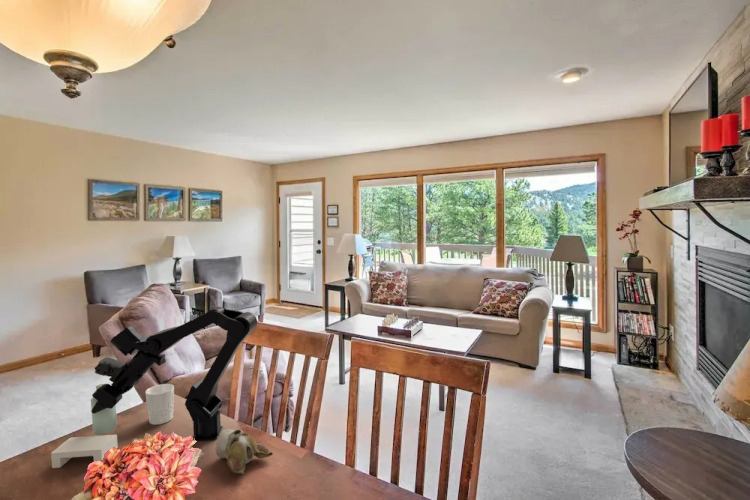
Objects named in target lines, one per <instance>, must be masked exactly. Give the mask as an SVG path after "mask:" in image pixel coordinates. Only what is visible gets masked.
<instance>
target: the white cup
mask: <svg viewBox="0 0 750 500" xmlns="http://www.w3.org/2000/svg"><path fill="white" fill-rule="evenodd" d="M144 394H145V402H146V409H147V415H148V422H149V424H150V425H155V426H156V425H163V424H165V423H168V422H169V421H171V420H172V419H173V418H174V408H175V386H174V385H173V384H172V383H162V384H158V385H153V386H151V387H149V388H147V389H146V390H145V393H144Z"/></svg>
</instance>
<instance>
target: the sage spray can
mask: <svg viewBox="0 0 750 500" xmlns="http://www.w3.org/2000/svg"><path fill="white" fill-rule="evenodd" d="M103 384H108V383H106V382H105V383H104V382H103V383H99V384H98V385H96V386H95V391H96V390H97V389H99V388H100V387H101V386H102V385H103ZM96 402H97V400H96V399H95V398H94V397H93V396H92V398H91V399H90V410H91V411H92V409H93V407H94V405H95V404H96ZM116 405H117V404H116ZM116 405H115V406H114V407H113V408H112V409H110V408H106V409H104V410H101V411H99V412H97V413H95V414H93V413H92V412H91V421H92V422H91V423H92V433H93V434H94V435H96V436H100V435H106V434H108V433H111V432H113V431H114V430H116V429H117V428H118V422H117V420H118V419H117V409H116V408H117V406H116Z"/></svg>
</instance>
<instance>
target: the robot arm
mask: <svg viewBox="0 0 750 500" xmlns="http://www.w3.org/2000/svg"><path fill="white" fill-rule="evenodd" d="M212 324H214V325H216V326H218V328H221V329H223V330H224V331H227V332H226V338H225V342H224V344H223V345H222V347H221V349H220V351H219V352H218V354H217V356H216V357H215V359H214V361H213V363H212V365H211V366H210V368H209V370H208V371H207V373H206V375H205V376H204V378H203V377H201V378H200V379H198V380H197V381H196V382H195V383H194V384H193V385H192V386H191V387H190V390H189V393H188V394H187V395H186V396H185V397H184V400H185V402H184V406H185V409H186V411H188V414H189V415H190V418H191V421H192V428H193V436H194V437H193V439H194V438H195V440H197V441H211V440H212V441H213V440H218V438H219V434H220V431H221V428H222V427H224V426H223V425H221V410H220V409H221V408H222V407H223V403H224V400H223V399H222V398H221V397H220V396H218V395H217V391H218V388H219V383H220V380H221V379H222V377H223V375H224V374H225V372H226V371H227V368H228V366H229V365H230V363H231V361H232V360H233V358H234V356H235V355H236V353H237V351H238V350H239V349H240V348H239V347H240V346H241V344H242V343H243V342H244V341H245V340H246V339H247V337H248V336H249V335H250V334H251V333H253V331H254V330H255V329H256V328H257V325H258V319H257V317H256V315H255V314H253V313H252V312H250V311H249V312H248V311H247V312H242V311H240V310H235V309H227V308H225V307H222V306H216V307H213V308H211V309H209V310H208V311H207V312H206V313H203V314H201V315H199V316H197V317H195V318H193V319H192V320H191V319H190V320H189V321H186V322H185V323H182V324H181V325H179V326H173V327H169V328H166V329H163V330H160V331H159V332H155V333H154V334H151V335H148V336H146V337H143V336H142V335H141V334H140V333H139V332H137V330H136V329H135V328H134V327H133V326H132V325H129V326H126V327H125V328H124V329H123V330H122V331H120V332H119V333H118V334H115V335H114V336H113V337H112V338H111V339H110V341H109V344H110V345H112V346H113V347H114V348H115V349H117V351H119V352H120V353H121V354H122V355H123V356H125V357H127V356H128V355H130V356H132V357H131V359H130V360H127V361H126V362H123V361H121V360H118V359H115V358H111V357H104V358H102V359H101V360H99V361H98V364H97V365H96V366H95V367H94V373H95V374H96V375H99V376H103V377H105V376H106V377H110V378H109V379H108V380H109V381H110V382H112V383H111V384H109V383H107V384H104V383H102V384H103V385H102V386H101V387H100V388H99V389H97V390H96V389H95V391H94V393H92V395H91V396H92V398H93V397H94V398H95V399H96V400H97V402H96V404H95V405H94V407H93V409H92V410H91V414H92V413H93V414H95V413H97V412H99V411H101V410H104V409H106V408H110V409H112V408H113V407H114V406H115V405H117V404H118V403H119V402H120V401H121V400H122V399H123V394H126V393H128V392H129V391H131V389H133V388H134V386H136V385H137V384H138V383H139V382H140V381H141V380H142V379H143V377H144V376H145V374H146V373H147V372H148V371H149V370H150V369H151V368H152V367H153V366H155V365H157V366H159V367H160V366H162V365H164V364H165V363H166V362H167V361H166V354H162V353H164V352H166V351H167V350H169V349H171V348H172V347H174V346H175V345H176V344H178V343H179V342H180V341H181V340H183V339H184V338H186V337H188V336H190V335H192V334H194V333H196V332H198V331H201V330H202V329H204V328H206V327H208V326H210V325H212ZM197 441H196V442H197Z"/></svg>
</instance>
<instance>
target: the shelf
mask: <svg viewBox="0 0 750 500" xmlns="http://www.w3.org/2000/svg"><path fill="white" fill-rule="evenodd" d="M118 446H119V445H118V434H101V435H92V436H89V435H87V436H75V437H74V436H73V437H69V438H68V439H67V440H65V441H64V442H63V443H61V444H60V445H59V446H58V447H57V448H55V449H54V450H53V451H52V452H50V458H51V460H50V461H51V468H52V469H59V468H61V467H63V466H64V465H65V464H66V463H67V462H68V461H70V459H72V458H79V457H80V458H83V457H93V462H94V461H101V460H103V458H104V454H105V453H106V452H107V451H108V450H109V449H110V448H113V447H115V448H118V449H119V447H118Z"/></svg>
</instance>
